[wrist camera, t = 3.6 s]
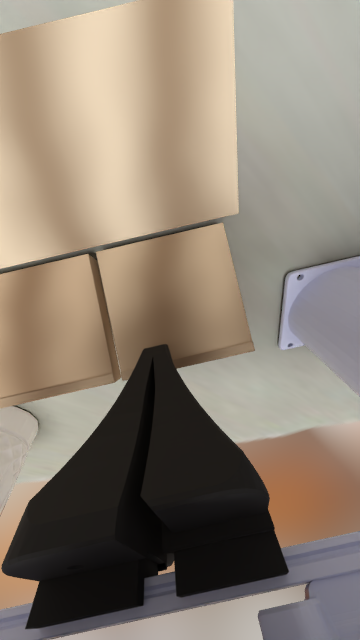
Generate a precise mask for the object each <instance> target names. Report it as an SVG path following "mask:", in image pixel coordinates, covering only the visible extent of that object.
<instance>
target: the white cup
mask: <svg viewBox="0 0 360 640" xmlns="http://www.w3.org/2000/svg"><path fill="white" fill-rule="evenodd" d="M38 430H39V427H38V421H37V420H36V419H35V418H34V417H33V416H32V415H31V414H30V413H29V412H27V411H24V410H22V409H20V408H18V407H15V406H9V407H4V408H0V516H1V514H2V511H3V509H4V507H5V505H6V503H7V501H8V498H9V496H10V494H11V492H12V490H13V488H14V485H15V483H16V481H17V478H18V475H19V473H20V471H21V469H22V467H23V465H24V462H25V459H26V456H27V452H28V451H29V449H30V447H31V445H32V443H33V440H34V438H35V436H36V434H37V432H38Z"/></svg>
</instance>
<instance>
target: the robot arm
mask: <svg viewBox="0 0 360 640" xmlns="http://www.w3.org/2000/svg"><path fill="white" fill-rule="evenodd" d="M299 275H300V277H299V278H298V279H297V277H298V276H299ZM304 345H305V346H307V347H308V348H309V349H310V350H311V351H312V352H313V353H314V354H315V355H316V356H317V357H318V358H319V359H320V360H321V361H322V362H324V363H325V364H326V365H327V366H328V367H329V368H330V369H331V370H332V371H333V372H334V373H335V374H336V375H337V376H338V377H339V378H340V379H342V380H343V381H344V382H345V383H346V384H347V385H348V386H349V387H350V388H351V389H352V390H353V391H354V392H355V393H356V394H357V395H359V396H360V256H357V257H353V258H348V259H344V260H340V261H335V262H331V263H327V264H322V265H318V266H314V267H309V268H305V269H301V270H296V271H292V272H290V273H288V274H287V276H286V278H285V287H284V296H283V306H282V315H281V325H280V334H279V343H278V346H279V348H280V349H281V350H286V349H290V348H295V347H299V346H304ZM269 499H270V498H269V494H268V491H267V489H266V487H265V485H264V483H263V481H262V480H261V478H260V476H259V475H258V473H257V471H256V470H255V468H254V467H253V465H252V464H251V463H250V461H249V460H248V458H247V457H246V455H245V454H244V452H243V451H242V450H241V449H240V448H239V447H238V446H237V445H236V444H235V443H234V442H233V441H232V440H231V439H230V438H229V437H228V436H227V435H226V434H225V433H224V432H223V431H222V430H221V429H220V428H219V426H218V425H217V424H216V423H215V422H214V421H213V420H212V419H211V417H210V416H209V415H208V414H207V413H206V412H205V410H204V409H203V408H202V407H201V406H200V404H199V403H198V402H197V400H196V399H195V398H194V396H193V395H192V394H191V392H190V391H189V389H188V388H187V386H186V385H185V383H184V382H183V380H182V378H181V377H180V375H179V373H178V372H177V370H176V368H175V366H174V364H173V360H172V357H171V354H170V350H169V347H168V345H167V344H162V345H158V346H154V347H149V348H145V349H143V351H142V353H141V355H140V357H139V359H138V362H137V364H136V366H135V368H134V370H133V372H132V374H131V376H130V378H129V380H128V381H127V383H126V385H125V387H124V388H123V390H122V392H121V393H120V395H119V397H118V398H117V400H116V402H115V403H114V405H113V406H112V408H111V409H110V410H109V412H108V413H107V415H106V416H105V418H104V419H103V420H102V422H101V423H100V424H99V426H98V427H97V428H96V429H95V431H94V432H93V433H92V435H91V436H90V437H89V438H88V440H87V441H86V442H85V443H84V444H83V445H82V446H81V448H80V449H79V450H78V451H77V452H76V453H75V455H74V456H73V457H72V458H71V459H70V460H69V461H68V462H67V463H66V464H65V466H64V467H63V468H62V469H61V470H60V471H59V472H58V473H57V474H56V475H55V476H54V477H53V478H52V479H51V480H50V481H49V482H48V483H47V484H46V485H45V486H44V487H43V488H42V489H41V490H40V491H39V492H38V493H37V494H36V495H35V496H34V497H33V498H32V499H31V500H30V501H29V503H28V505H27V507H26V509H25V512H24V514H23V516H22V518H21V521H20V523H19V526H18V528H17V530H16V533H15V535H14V537H13V540H12V542H11V545H10V547H9V550H8V552H7V554H6V557H5V559H4V561H3V564H2V571H3V573H4V574H6V575H8V576H12V577H17V578H23V579H29V580H35V581H39V585H38V588H37V592H36V595H35V598H34V601H33V603H29V604H24V605H20V606H15V607H11V608H6V609H1V610H0V640H50V639H55V638H59V637H64V636H69V635H73V634H78V633H82V632H87V631H91V630H96V629H101V628H105V627H110V626H115V625H119V624H124V623H128V622H133V621H138V620H142V619H146V618H151V617H156V616H161V615H165V614H170V613H174V612H179V611H184V610H188V609H193V608H197V607H202V606H207V605H211V604H215V603H220V602H225V601H230V600H234V599H239V598H243V597H248V596H253V595H257V594H262V593H266V592H271V591H276V590H280V589H285V588H289V587H294V586H298V585H303V584H307V585H306V588H305V600H304V601H300V602H296V603H291V604H287V605H282V606H278V607H273V608H269V609H265V610H260V611H259V613H258V619H259V623H260V627H261V631H262V635H263V640H360V531H358V532H353V533H348V534H344V535H340V536H335V537H331V538H326V539H321V540H316V541H312V542H307V543H303V544H298V545H294V546H289V547H285V548H280V545H279V543H278V540H277V537H276V534H275V531H274V525H273V522H272V519H271V516H270V514H269V511H268V505H269ZM173 561H174V563H175V572H170V573H166V574H162V575H158V571H163V570H166V569H167V567H168V566H171V565H172V563H173ZM308 583H309V584H308Z"/></svg>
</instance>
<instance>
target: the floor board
mask: <svg viewBox="0 0 360 640" xmlns="http://www.w3.org/2000/svg"><path fill="white" fill-rule="evenodd" d="M238 213H239V205H238V167H237V130H236V92H235V54H234V17H233V0H139V1H135V2H131V3H127V4H122V5H118V6H114V7H110V8H106V9H102V10H98V11H93V12H89V13H85V14H81V15H77V16H73V17H69V18H65V19H60V20H56V21H52V22H48V23H44V24H40V25H36V26H32V27H27V28H23V29H19V30H15V31H11V32H7V33H3V34H0V269H1V268H6V267H10V266H14V265H18V264H23V263H27V262H31V261H36V260H40V259H44V258H49V257H53V256H57V255H61V254H66V253H70V252H74V251H79V250H83V249H87V248H92V247H96V246H100V245H105V244H109V243H113V242H117V241H122V240H126V239H130V238H135V237H139V236H143V235H148V234H152V233H156V232H160V231H165V230H169V229H173V228H178V227H182V226H186V225H191V224H195V223H199V222H203V221H208V220H212V219H216V218H221V217H225V216H229V215H234V214H238Z"/></svg>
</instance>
